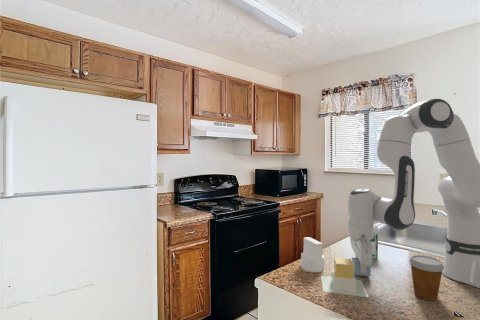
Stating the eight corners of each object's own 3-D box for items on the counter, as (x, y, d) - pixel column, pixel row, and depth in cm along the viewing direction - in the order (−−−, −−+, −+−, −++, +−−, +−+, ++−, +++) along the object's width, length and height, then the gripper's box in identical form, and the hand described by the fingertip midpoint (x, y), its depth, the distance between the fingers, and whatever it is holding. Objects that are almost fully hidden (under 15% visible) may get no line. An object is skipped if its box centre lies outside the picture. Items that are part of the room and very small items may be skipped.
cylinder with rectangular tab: (296, 267, 110) (297, 238, 110) (314, 264, 113) (315, 236, 113) (309, 276, 102) (309, 245, 102) (328, 273, 105) (329, 242, 105)
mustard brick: (350, 271, 94) (350, 259, 94) (353, 278, 89) (353, 265, 89) (334, 270, 96) (334, 257, 96) (335, 276, 90) (336, 263, 90)
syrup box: (364, 258, 121) (365, 226, 121) (360, 253, 127) (360, 223, 127) (377, 258, 120) (378, 226, 120) (372, 254, 126) (373, 223, 126)
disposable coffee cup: (442, 307, 82) (443, 268, 81) (406, 296, 88) (406, 260, 88) (444, 295, 89) (445, 259, 89) (410, 285, 95) (411, 252, 95)
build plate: (361, 283, 97) (361, 280, 97) (368, 300, 85) (369, 297, 85) (321, 278, 100) (321, 275, 100) (323, 294, 88) (323, 291, 88)
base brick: (352, 282, 95) (352, 271, 95) (355, 291, 88) (356, 279, 88) (331, 279, 97) (331, 268, 97) (333, 289, 90) (333, 277, 90)
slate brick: (367, 270, 103) (367, 258, 103) (370, 276, 98) (370, 264, 98) (351, 268, 104) (351, 257, 104) (354, 274, 99) (354, 262, 99)
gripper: (377, 240, 90) (377, 281, 90) (363, 225, 110) (363, 258, 110) (357, 239, 92) (357, 279, 92) (347, 224, 111) (347, 257, 112)
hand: (360, 268), depth 101 cm, fingers closed on slate brick, 5 cm apart
